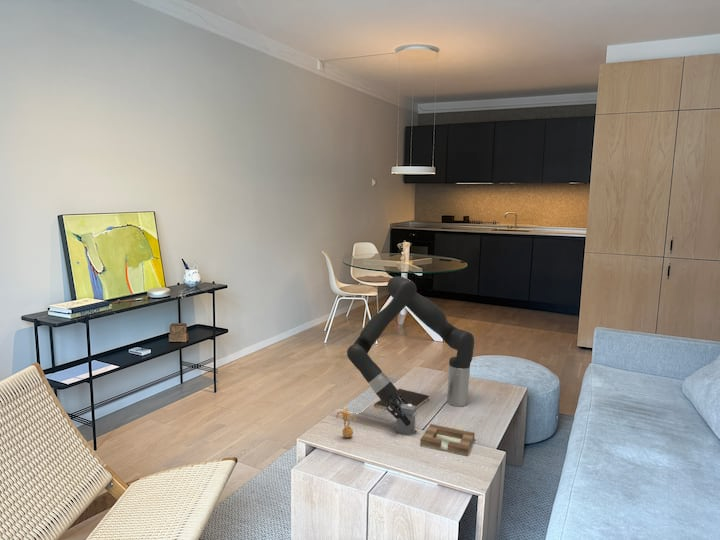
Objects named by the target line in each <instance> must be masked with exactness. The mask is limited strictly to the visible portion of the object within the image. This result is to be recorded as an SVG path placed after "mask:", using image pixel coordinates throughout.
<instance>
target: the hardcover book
mask: <svg viewBox="0 0 720 540" xmlns="http://www.w3.org/2000/svg"><path fill="white" fill-rule="evenodd" d="M395 393H396V394H397V395H398V396H399V395H401V394H402V395H403V397H404V398H405V400H406V402H407V403H408V404H412V405H413V406H416V409H418V408H420V406H422V405H423V404H425V403H426V402H427V401H428V400H429V398H430V395H428V394H424V393H419V392H416V391H411V390H407V389H402V388H397V391H396V392H395ZM373 406H374V407H375V408H378V409H383V410H385V411H388V410H387V409H386V408H387V407H388V406H389V405H388V404H387V402H386V401H384V402H382V401H381V400H380V399H379V400H378V401H376V402H375V403H374V404H373Z"/></svg>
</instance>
